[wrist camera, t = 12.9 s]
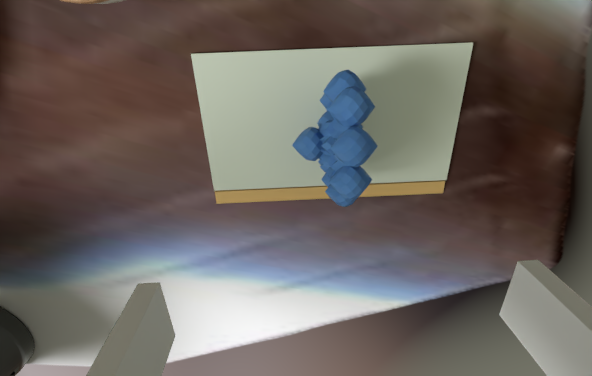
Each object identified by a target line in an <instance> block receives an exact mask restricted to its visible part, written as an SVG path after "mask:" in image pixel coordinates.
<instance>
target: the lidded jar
mask: <svg viewBox="0 0 592 376" xmlns="http://www.w3.org/2000/svg"><path fill="white" fill-rule="evenodd" d="M61 1H65V2H71V3H79V4H108V3H116V2H121V1H125V0H61Z"/></svg>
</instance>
